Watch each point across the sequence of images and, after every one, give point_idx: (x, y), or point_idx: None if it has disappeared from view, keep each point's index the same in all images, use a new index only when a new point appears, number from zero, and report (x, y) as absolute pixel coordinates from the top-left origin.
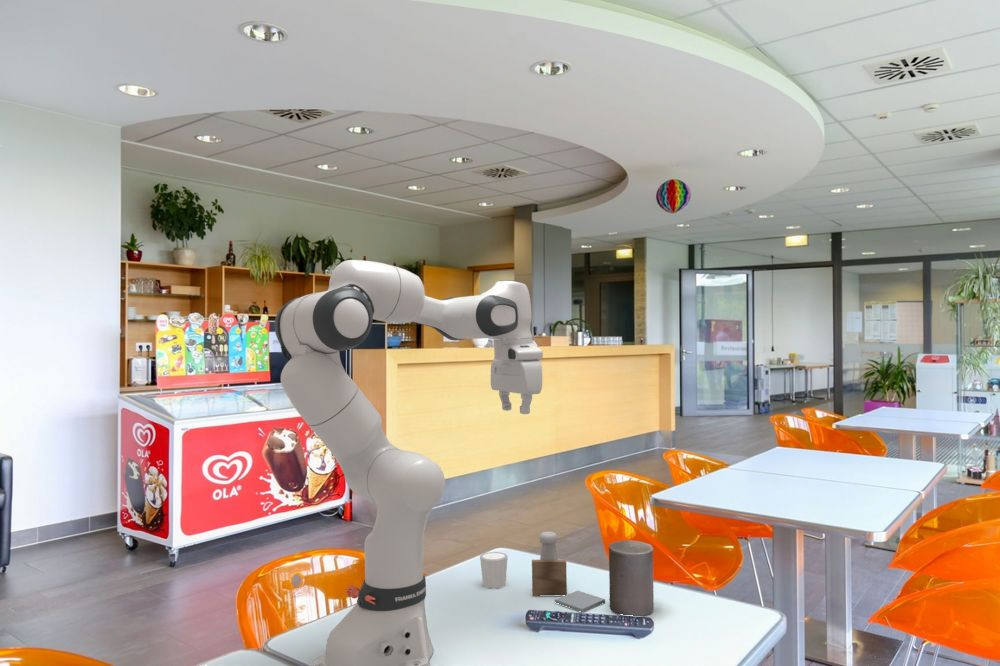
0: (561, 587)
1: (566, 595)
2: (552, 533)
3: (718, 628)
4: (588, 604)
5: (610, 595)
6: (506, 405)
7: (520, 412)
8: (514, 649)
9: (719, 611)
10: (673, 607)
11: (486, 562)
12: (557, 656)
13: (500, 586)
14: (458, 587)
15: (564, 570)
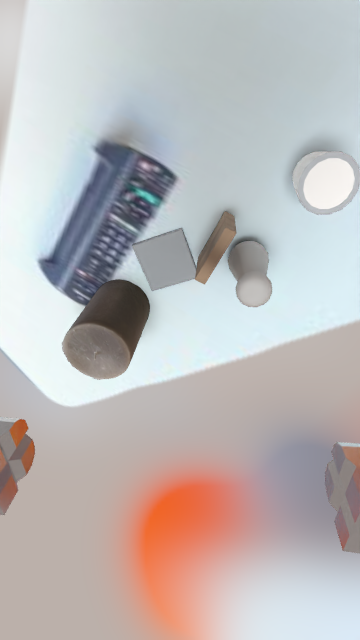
0: (201, 255)
1: (188, 253)
2: (246, 298)
3: (42, 345)
4: (144, 262)
5: (122, 289)
6: (347, 493)
7: (9, 420)
8: (43, 79)
9: None
10: None
11: (314, 157)
12: (9, 134)
13: (292, 178)
14: (347, 96)
15: (197, 270)
